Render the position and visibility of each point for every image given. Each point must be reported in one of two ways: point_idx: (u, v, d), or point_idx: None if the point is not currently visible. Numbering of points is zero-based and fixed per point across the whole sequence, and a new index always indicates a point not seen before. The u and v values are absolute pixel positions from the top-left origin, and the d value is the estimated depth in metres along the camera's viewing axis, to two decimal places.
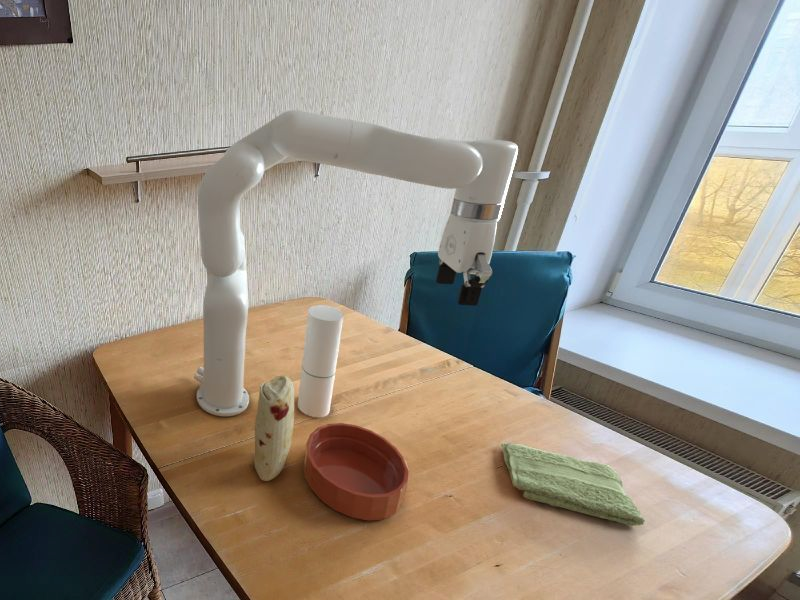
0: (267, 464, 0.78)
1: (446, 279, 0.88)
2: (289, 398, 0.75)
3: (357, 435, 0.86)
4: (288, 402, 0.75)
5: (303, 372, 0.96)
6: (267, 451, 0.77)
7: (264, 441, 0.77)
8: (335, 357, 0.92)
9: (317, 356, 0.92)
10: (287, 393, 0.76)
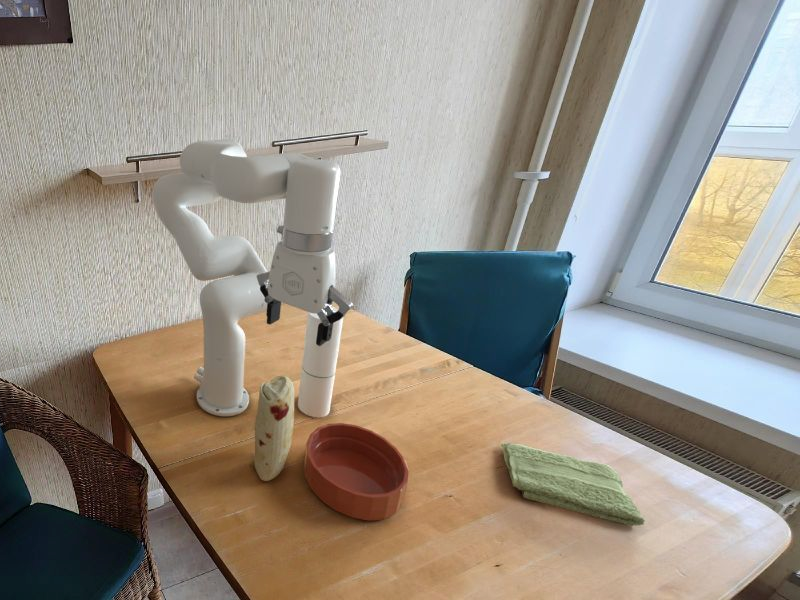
0: (267, 464, 0.78)
1: (275, 317, 0.77)
2: (289, 398, 0.75)
3: (357, 435, 0.86)
4: (288, 402, 0.75)
5: (303, 372, 0.96)
6: (267, 451, 0.77)
7: (264, 441, 0.77)
8: (335, 357, 0.92)
9: (317, 356, 0.92)
10: (287, 393, 0.76)
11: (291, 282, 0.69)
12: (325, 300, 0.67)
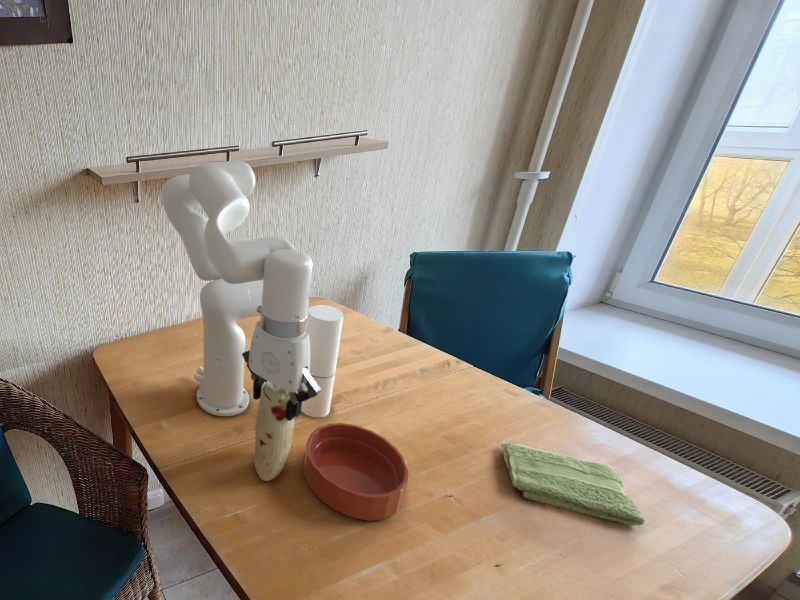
0: (267, 464, 0.78)
1: None
2: (290, 398, 0.75)
3: (357, 435, 0.86)
4: None
5: None
6: (267, 452, 0.77)
7: (265, 441, 0.77)
8: (335, 357, 0.92)
9: (317, 356, 0.92)
10: None
11: (268, 361, 0.74)
12: None
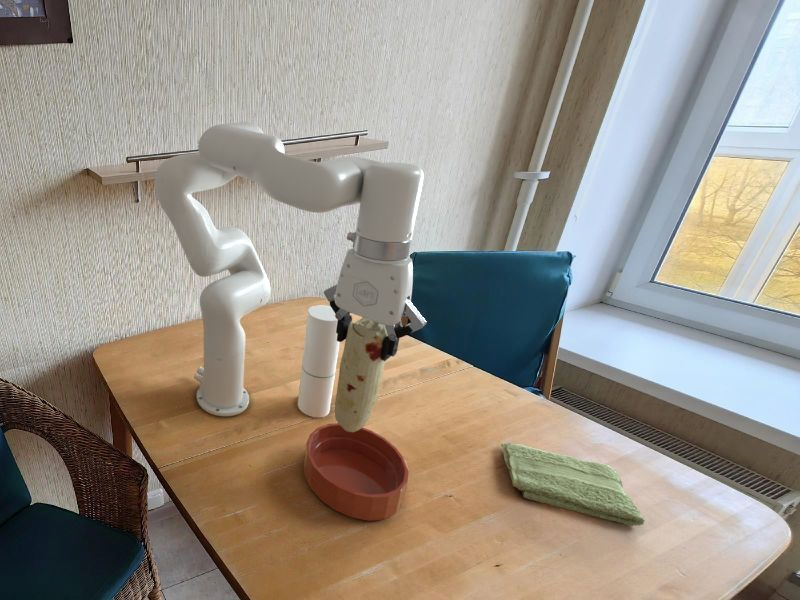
0: (355, 412, 0.70)
1: (346, 334, 0.73)
2: (385, 336, 0.67)
3: (357, 435, 0.86)
4: None
5: (303, 372, 0.96)
6: (357, 397, 0.69)
7: (355, 385, 0.69)
8: (335, 357, 0.92)
9: (317, 356, 0.92)
10: (383, 331, 0.67)
11: (363, 292, 0.65)
12: None
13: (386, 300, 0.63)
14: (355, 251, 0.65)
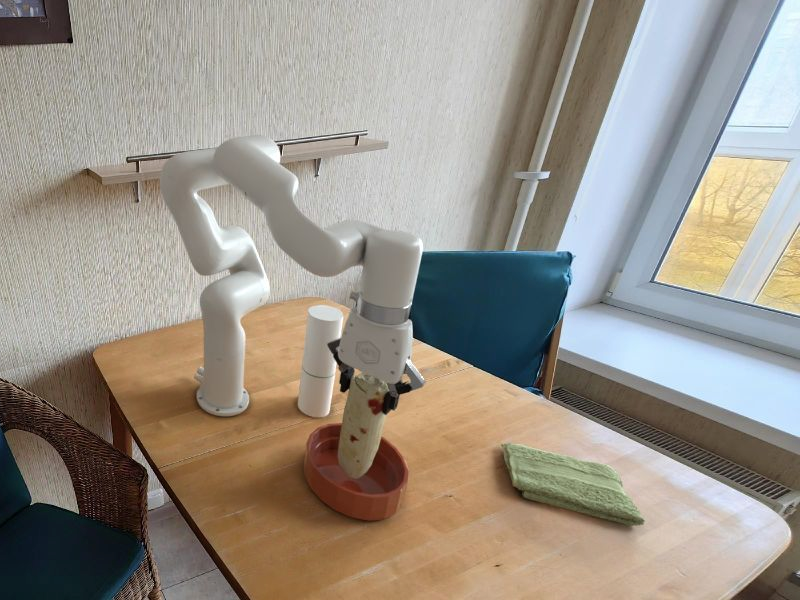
0: (358, 461, 0.73)
1: (348, 385, 0.76)
2: (386, 391, 0.71)
3: None
4: None
5: (303, 372, 0.96)
6: (360, 448, 0.72)
7: (358, 437, 0.72)
8: None
9: (317, 356, 0.92)
10: (384, 386, 0.71)
11: (366, 350, 0.69)
12: None
13: (387, 360, 0.66)
14: (358, 312, 0.68)
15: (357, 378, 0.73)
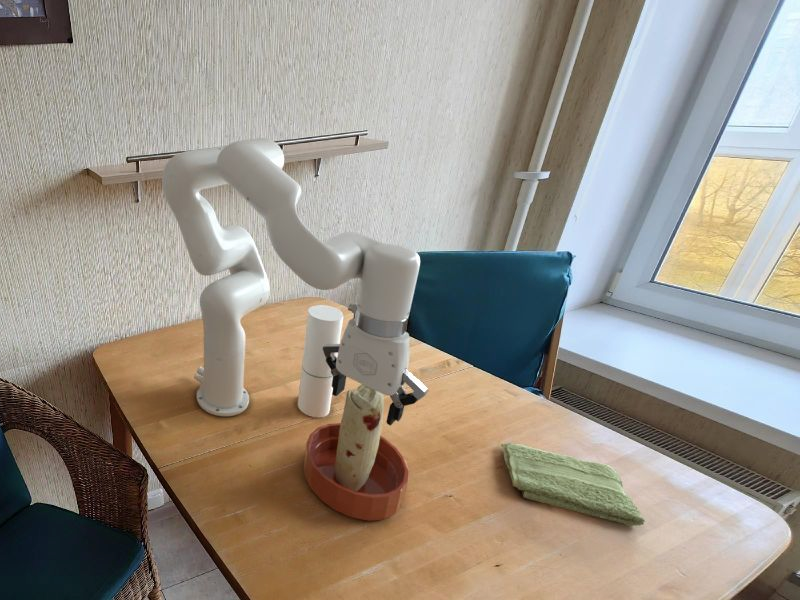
0: (354, 476, 0.75)
1: (340, 388, 0.78)
2: (381, 407, 0.72)
3: None
4: (380, 411, 0.72)
5: (303, 372, 0.96)
6: (356, 463, 0.74)
7: (354, 452, 0.73)
8: None
9: (317, 356, 0.92)
10: (379, 402, 0.72)
11: (363, 362, 0.70)
12: (399, 383, 0.67)
13: (384, 372, 0.67)
14: (356, 324, 0.69)
15: (352, 394, 0.74)
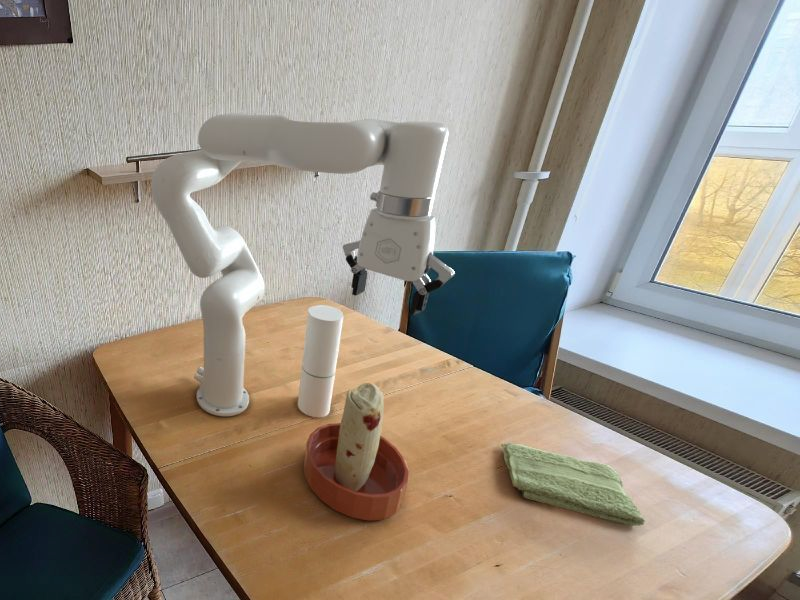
0: (354, 476, 0.75)
1: (361, 288, 0.76)
2: (381, 407, 0.72)
3: None
4: (380, 411, 0.72)
5: (303, 372, 0.96)
6: (356, 463, 0.74)
7: (354, 452, 0.73)
8: (335, 357, 0.92)
9: (317, 356, 0.92)
10: (379, 402, 0.72)
11: (386, 249, 0.68)
12: (424, 267, 0.65)
13: (408, 256, 0.65)
14: (379, 209, 0.67)
15: (352, 394, 0.74)
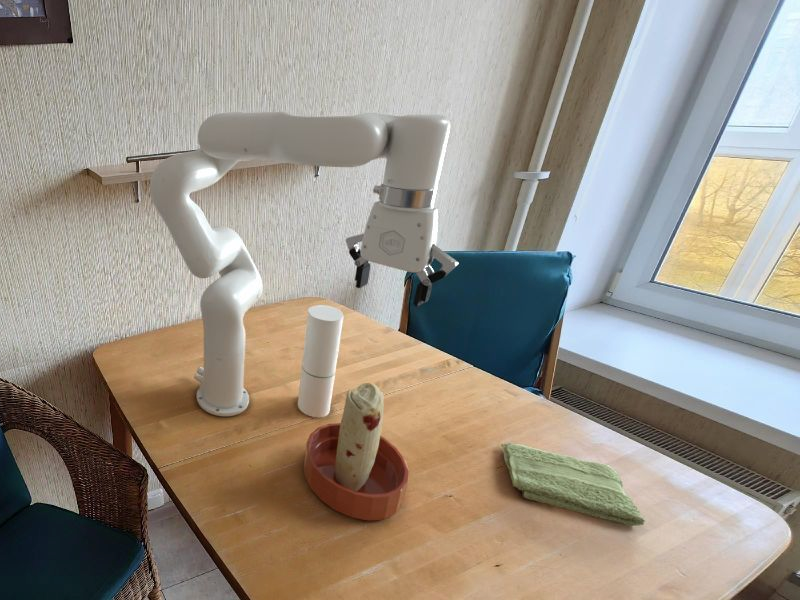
0: (354, 476, 0.75)
1: (364, 280, 0.76)
2: (381, 407, 0.72)
3: None
4: (380, 411, 0.72)
5: (303, 372, 0.96)
6: (356, 463, 0.74)
7: (354, 452, 0.73)
8: (335, 357, 0.92)
9: (317, 356, 0.92)
10: (379, 402, 0.72)
11: (390, 241, 0.68)
12: (427, 258, 0.66)
13: (412, 247, 0.66)
14: (382, 202, 0.68)
15: (352, 394, 0.74)
